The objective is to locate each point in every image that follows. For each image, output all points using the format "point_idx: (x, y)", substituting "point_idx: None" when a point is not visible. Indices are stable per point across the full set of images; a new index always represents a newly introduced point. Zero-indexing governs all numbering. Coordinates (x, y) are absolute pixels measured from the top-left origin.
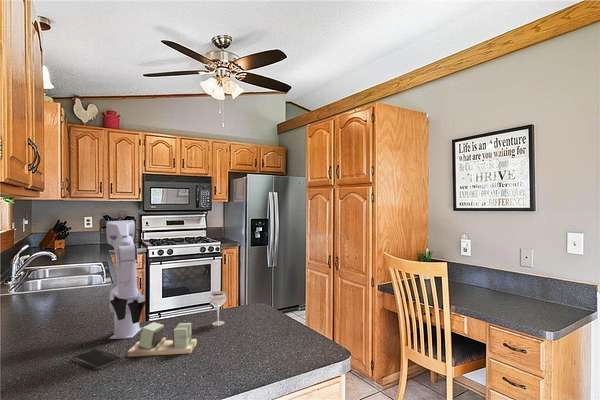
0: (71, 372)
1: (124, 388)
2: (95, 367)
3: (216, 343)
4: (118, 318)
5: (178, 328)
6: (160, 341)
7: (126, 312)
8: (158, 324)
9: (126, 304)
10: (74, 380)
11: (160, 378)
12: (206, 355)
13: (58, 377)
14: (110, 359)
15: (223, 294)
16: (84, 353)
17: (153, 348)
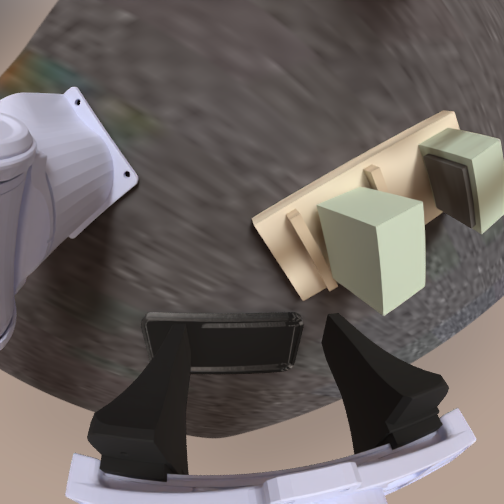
0: (237, 389)
1: (405, 356)
2: (284, 370)
3: (482, 101)
4: (189, 365)
5: (489, 215)
6: None
7: (49, 235)
8: (407, 223)
9: (7, 254)
10: (283, 395)
11: (449, 305)
12: None
13: (235, 404)
14: (276, 334)
15: None
16: (150, 346)
17: None
